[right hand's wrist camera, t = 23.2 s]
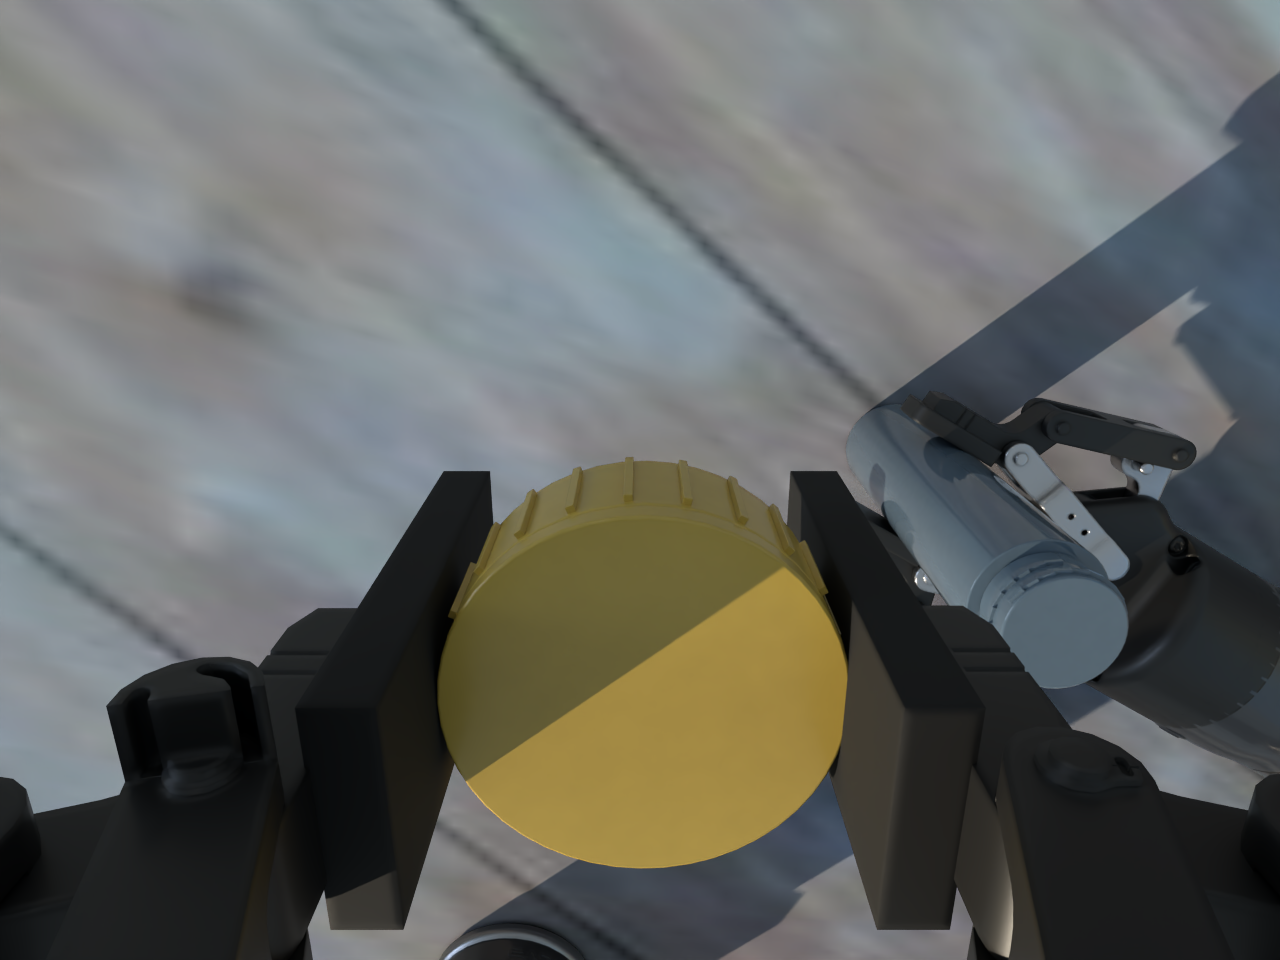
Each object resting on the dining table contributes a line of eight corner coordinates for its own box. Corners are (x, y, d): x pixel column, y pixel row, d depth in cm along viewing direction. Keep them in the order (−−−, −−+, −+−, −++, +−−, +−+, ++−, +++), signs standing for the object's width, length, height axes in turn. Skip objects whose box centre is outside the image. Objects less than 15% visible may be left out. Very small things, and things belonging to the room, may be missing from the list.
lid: (899, 570, 12) (946, 644, 10) (699, 826, 13) (708, 930, 12) (575, 382, 11) (563, 426, 9) (400, 679, 12) (359, 767, 11)
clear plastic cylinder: (955, 439, 41) (1176, 622, 24) (892, 506, 42) (1061, 726, 25) (888, 385, 40) (1068, 534, 23) (827, 454, 41) (955, 646, 24)
